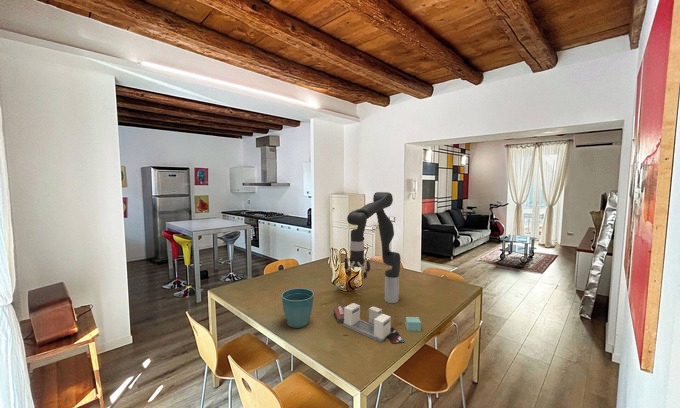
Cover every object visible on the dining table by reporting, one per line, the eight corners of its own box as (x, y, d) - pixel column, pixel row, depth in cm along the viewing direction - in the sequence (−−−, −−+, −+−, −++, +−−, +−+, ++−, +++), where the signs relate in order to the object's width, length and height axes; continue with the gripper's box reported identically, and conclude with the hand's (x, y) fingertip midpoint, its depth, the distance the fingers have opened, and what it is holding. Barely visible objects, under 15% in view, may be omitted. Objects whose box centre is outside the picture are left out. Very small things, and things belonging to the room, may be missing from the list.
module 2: (382, 329, 153) (382, 313, 153) (390, 333, 150) (390, 316, 149) (373, 335, 147) (374, 319, 147) (382, 339, 144) (382, 322, 143)
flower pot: (299, 312, 176) (298, 285, 174) (320, 321, 164) (320, 293, 163) (275, 323, 162) (274, 294, 160) (297, 335, 150) (296, 303, 149)
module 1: (352, 317, 166) (352, 302, 165) (359, 320, 163) (359, 305, 162) (343, 323, 160) (344, 307, 159) (351, 326, 157) (351, 310, 156)
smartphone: (393, 327, 158) (405, 342, 143) (393, 328, 158) (405, 343, 144) (381, 328, 156) (391, 343, 142) (381, 329, 157) (391, 345, 142)
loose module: (372, 319, 167) (372, 306, 166) (381, 322, 163) (381, 309, 162) (368, 322, 164) (368, 308, 163) (377, 325, 160) (377, 311, 159)
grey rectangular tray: (353, 319, 167) (353, 316, 167) (391, 334, 151) (391, 331, 151) (342, 325, 160) (342, 323, 159) (381, 342, 143) (381, 339, 143)
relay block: (405, 325, 161) (418, 325, 160) (407, 331, 155) (420, 331, 154) (405, 316, 160) (418, 317, 160) (408, 322, 154) (421, 322, 154)
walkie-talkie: (353, 322, 164) (344, 302, 183) (353, 316, 163) (344, 296, 181) (338, 325, 162) (330, 304, 181) (338, 318, 161) (330, 298, 179)
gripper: (371, 248, 157) (371, 276, 158) (347, 245, 162) (347, 273, 163) (367, 251, 150) (367, 281, 151) (342, 249, 155) (342, 278, 157)
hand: (357, 277), depth 157 cm, fingers open, 8 cm apart
